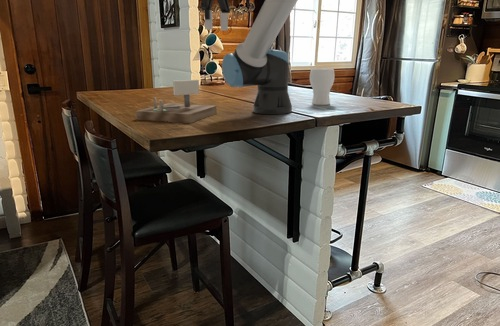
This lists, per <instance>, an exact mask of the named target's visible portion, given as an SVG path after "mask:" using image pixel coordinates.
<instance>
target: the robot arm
mask: <svg viewBox="0 0 500 326" xmlns="http://www.w3.org/2000/svg"><path fill="white" fill-rule="evenodd" d="M216 1H217V3H218V6H219V9H220V11H221V13H220V14H219V15H220V16H219V17H220V31H228V29H229V28H228V27H229V23H228V14H230V13H231V8H230V5H229V4H230V3H229V0H216ZM297 2H298V0H264V2H263V4H262V6H261V8H260V10H259V12H258V14H257V16H256V18H255V19H254V22H253V24H252V26H251V28H250V30H249V31H248V33H247V36H246V38H245V40H244V42H240V43H239V44H237V46H236V48H235V50H234V52H233V53H231V52H230V53H227V54H225V55H224V56H223V59H222V63H221V67H222V68H221V70H222V76H223V78H224V80H225V82H226V84H227V85H228V86H230V87H232V88H247V87H256V86H257V93H256V95H255V99H254V103H253V107H252V111H253V113H256V114H261V115H283V114H284V115H285V114H289V113H291V112H293V104H292V101H291V99H290V95H289V89H288V88H289V83H288V82H289V64H290V63H289V55H288V53H287V52H286V51H283V50H279V49H271V47H272V45H273V44H274V43H275V40H276V38H277V36H278V35H279V34H280V31H281V30H282V28H283V27H284V25H285V23H286V21H287V19H288V18H289V16H290V14H291V13H292V10H293V9H294V7H295V6H296V4H297ZM213 3H214V0H201V1H200V8H201V11H204V29H205V30H214V29H213V10H212V6H213Z"/></svg>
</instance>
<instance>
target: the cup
mask: <svg viewBox="0 0 500 326" xmlns="http://www.w3.org/2000/svg"><path fill="white" fill-rule="evenodd" d="M335 77H336V76H335V69H334V68H331V67H322V68H321V67H317V68H311V69H310V73H309V83H310V86H311V88H312V93H313V96H312V101H311V104H312V105H316V106H325V105H326V106H327V105H330V104H331V102H330V101H331V99H330V93H331V89H332V87H333V85H334V82H335Z"/></svg>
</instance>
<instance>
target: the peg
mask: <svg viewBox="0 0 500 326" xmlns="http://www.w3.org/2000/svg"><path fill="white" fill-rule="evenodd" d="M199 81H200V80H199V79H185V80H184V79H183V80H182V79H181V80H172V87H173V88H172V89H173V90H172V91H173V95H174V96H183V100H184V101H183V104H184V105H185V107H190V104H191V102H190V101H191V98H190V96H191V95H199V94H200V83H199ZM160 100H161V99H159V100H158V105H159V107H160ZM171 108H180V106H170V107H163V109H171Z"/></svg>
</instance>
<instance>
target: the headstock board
mask: <svg viewBox="0 0 500 326" xmlns="http://www.w3.org/2000/svg"><path fill="white" fill-rule="evenodd" d="M159 100H160V107H159V104H158V103H157V97H153V106H151V107H146V108H142V109H139V110H136V111H135V116H136V120H138V121H139V120H141V121H154V122H167V121H168V122H169V123H170V122H171V123H182V124H183V123H184V124H192V123H194V122H197V121H200V120H203V119H205V118H208V117H210V116H214V115H217V114H218V113H217V112H218V111H217V105H209V104H207V105H206V104H191V103H190V107H185V105H184V103H171V102H170V103H168V102H166V103H164V99H159ZM170 106H180V108H171V109H163V107H170Z"/></svg>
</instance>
